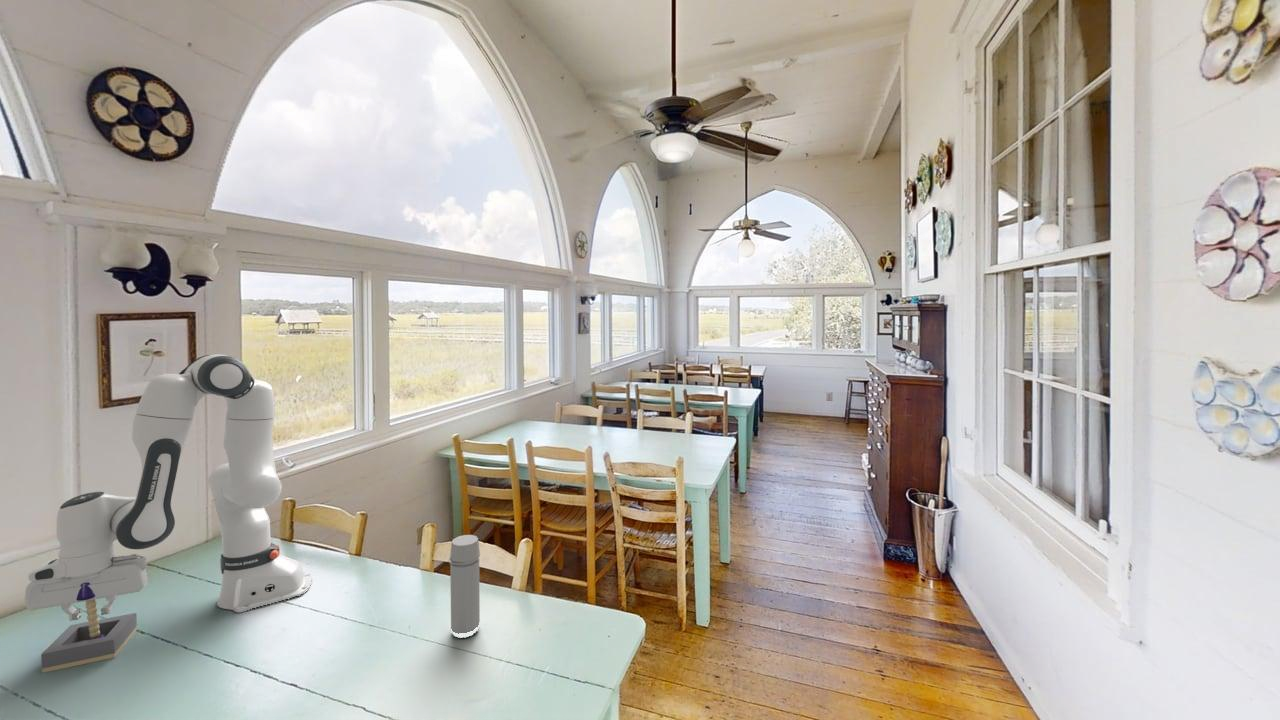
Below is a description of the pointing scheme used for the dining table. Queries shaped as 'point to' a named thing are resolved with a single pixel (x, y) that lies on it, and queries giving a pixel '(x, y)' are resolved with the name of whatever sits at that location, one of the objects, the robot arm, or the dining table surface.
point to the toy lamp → (90, 610)
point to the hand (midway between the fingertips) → (91, 616)
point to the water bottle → (464, 583)
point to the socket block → (89, 643)
